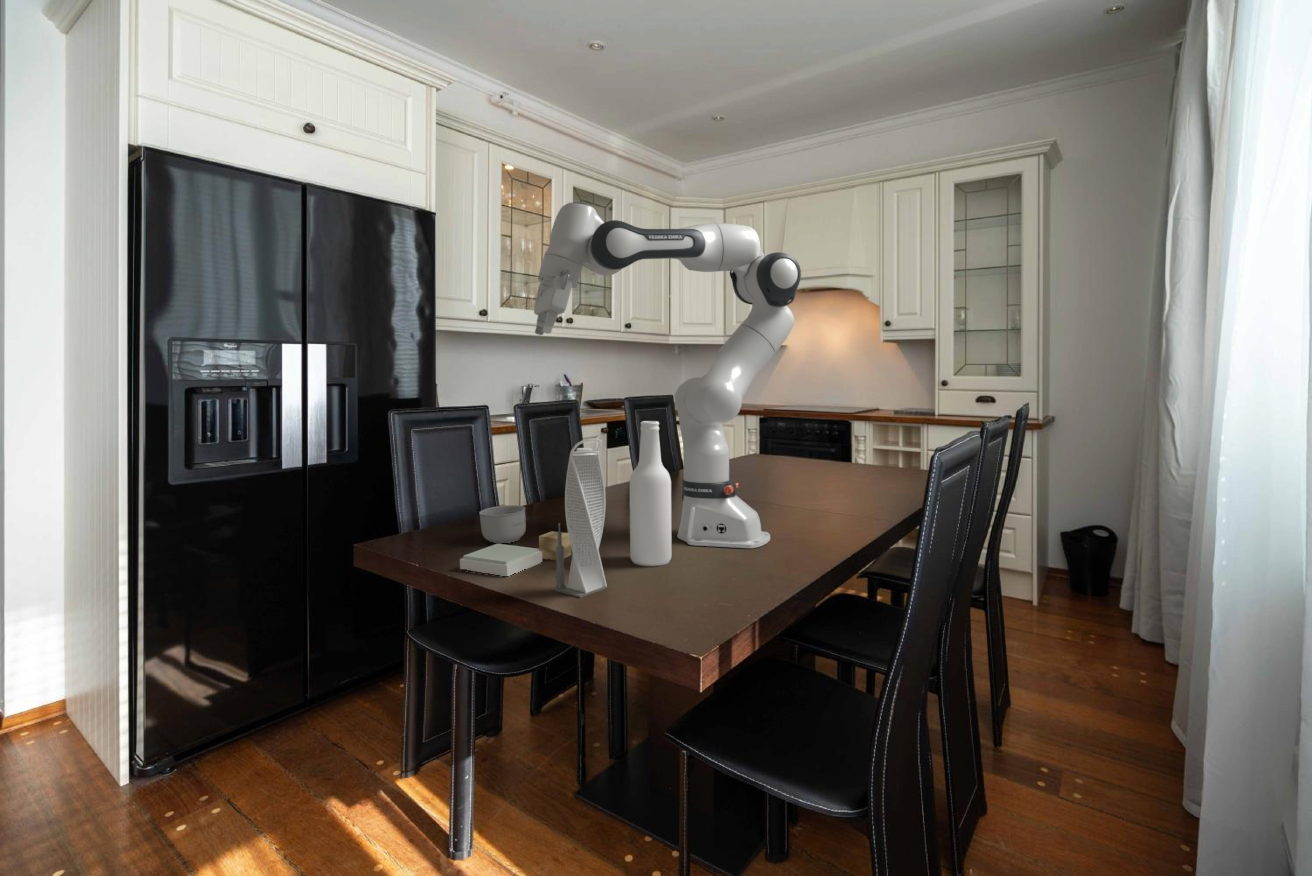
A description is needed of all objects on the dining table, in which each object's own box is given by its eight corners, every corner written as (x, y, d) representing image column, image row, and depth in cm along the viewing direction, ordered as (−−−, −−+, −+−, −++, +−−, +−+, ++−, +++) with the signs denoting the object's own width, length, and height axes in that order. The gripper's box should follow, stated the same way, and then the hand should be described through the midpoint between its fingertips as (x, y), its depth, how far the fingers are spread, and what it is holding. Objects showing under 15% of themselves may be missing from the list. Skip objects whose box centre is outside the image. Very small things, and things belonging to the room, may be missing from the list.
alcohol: (667, 568, 141) (666, 423, 138) (626, 566, 143) (624, 422, 140) (674, 556, 150) (674, 420, 147) (635, 555, 152) (634, 420, 149)
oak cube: (571, 555, 152) (570, 533, 152) (558, 561, 148) (558, 538, 147) (552, 553, 154) (551, 531, 154) (539, 558, 150) (538, 536, 149)
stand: (542, 562, 146) (542, 548, 146) (507, 577, 136) (506, 562, 135) (497, 556, 151) (496, 542, 151) (460, 570, 141) (459, 556, 140)
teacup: (520, 547, 160) (519, 513, 159) (474, 547, 160) (473, 513, 159) (532, 533, 173) (532, 502, 173) (490, 533, 174) (489, 502, 173)
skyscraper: (586, 579, 134) (583, 437, 131) (616, 587, 129) (614, 439, 126) (553, 590, 127) (550, 440, 125) (584, 599, 122) (581, 443, 119)
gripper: (583, 273, 144) (565, 336, 144) (563, 283, 163) (547, 339, 163) (555, 262, 142) (536, 327, 142) (538, 274, 161) (521, 330, 161)
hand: (542, 333), depth 153 cm, fingers open, 8 cm apart
